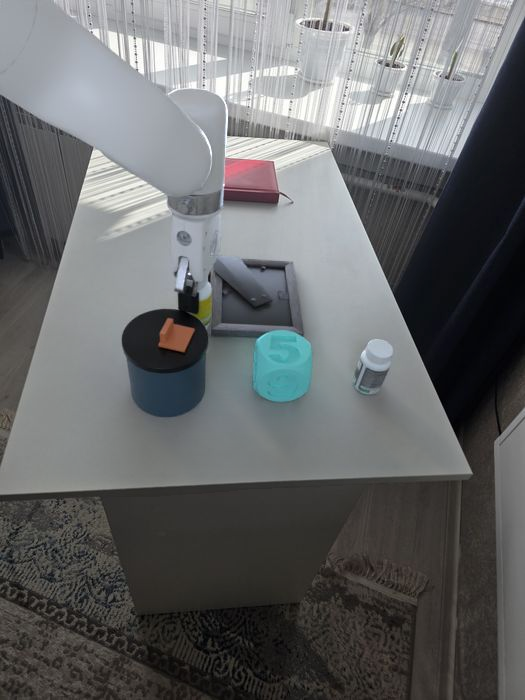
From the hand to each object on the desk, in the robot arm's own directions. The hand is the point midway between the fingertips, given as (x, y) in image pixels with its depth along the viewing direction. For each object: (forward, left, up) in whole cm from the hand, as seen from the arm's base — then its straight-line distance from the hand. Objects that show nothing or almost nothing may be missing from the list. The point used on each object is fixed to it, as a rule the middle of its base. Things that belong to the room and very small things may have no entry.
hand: (194, 298), depth 75 cm
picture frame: (+8, +12, -8) cm, 16 cm away
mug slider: (+2, -13, +4) cm, 14 cm away
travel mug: (0, -13, -7) cm, 15 cm away
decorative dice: (+16, -7, -8) cm, 19 cm away
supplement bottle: (0, 0, -5) cm, 5 cm away
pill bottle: (+30, -3, -8) cm, 31 cm away
